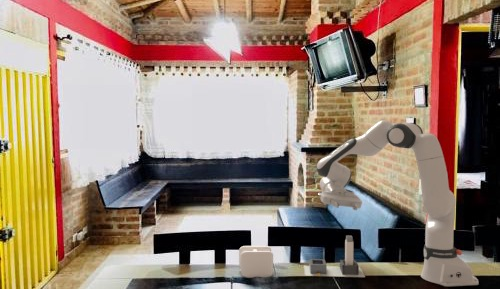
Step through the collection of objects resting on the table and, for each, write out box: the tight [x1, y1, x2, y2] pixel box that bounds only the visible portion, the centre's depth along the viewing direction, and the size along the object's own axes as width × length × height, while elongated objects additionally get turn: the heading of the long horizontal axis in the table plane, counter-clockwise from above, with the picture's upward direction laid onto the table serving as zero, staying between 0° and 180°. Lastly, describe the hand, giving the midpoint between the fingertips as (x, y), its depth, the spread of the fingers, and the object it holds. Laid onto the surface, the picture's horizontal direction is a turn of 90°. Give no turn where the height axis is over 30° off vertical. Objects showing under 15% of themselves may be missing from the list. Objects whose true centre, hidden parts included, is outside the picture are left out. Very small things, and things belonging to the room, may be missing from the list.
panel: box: [303, 259, 366, 278], centre depth 186 cm, size 26×13×5 cm, turn 85°
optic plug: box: [344, 235, 354, 265], centre depth 185 cm, size 3×4×16 cm
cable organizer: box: [238, 245, 274, 279], centre depth 185 cm, size 15×11×12 cm
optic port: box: [308, 258, 327, 274], centre depth 186 cm, size 7×8×4 cm
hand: (346, 207), depth 191 cm, fingers open, 8 cm apart
